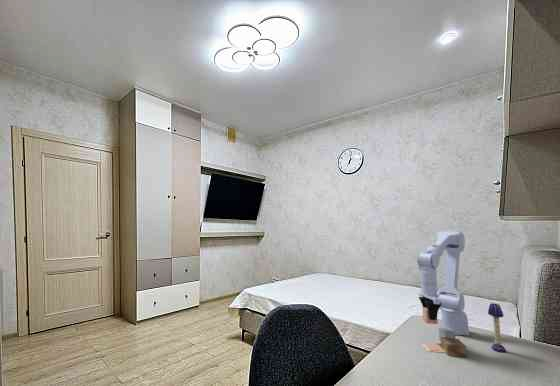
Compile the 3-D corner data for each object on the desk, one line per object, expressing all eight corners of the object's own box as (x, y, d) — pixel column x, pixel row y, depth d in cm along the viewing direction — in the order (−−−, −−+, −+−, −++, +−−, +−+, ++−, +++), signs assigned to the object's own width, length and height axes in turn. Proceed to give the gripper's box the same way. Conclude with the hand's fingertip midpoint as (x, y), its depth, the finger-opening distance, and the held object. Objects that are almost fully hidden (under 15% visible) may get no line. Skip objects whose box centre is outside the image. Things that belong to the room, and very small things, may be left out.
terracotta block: (433, 320, 109) (432, 307, 109) (437, 324, 105) (437, 310, 105) (423, 319, 109) (422, 307, 110) (426, 323, 105) (426, 310, 106)
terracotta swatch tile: (438, 345, 103) (438, 344, 103) (445, 352, 98) (445, 351, 98) (422, 344, 104) (422, 343, 104) (428, 351, 98) (428, 350, 98)
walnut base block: (458, 350, 100) (458, 338, 101) (466, 357, 95) (465, 345, 95) (441, 348, 102) (440, 337, 102) (447, 355, 96) (447, 344, 96)
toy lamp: (507, 354, 97) (504, 306, 99) (491, 351, 99) (488, 304, 101) (504, 348, 101) (501, 303, 103) (489, 346, 104) (486, 301, 106)
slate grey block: (448, 339, 109) (447, 327, 109) (455, 344, 105) (455, 330, 105) (439, 340, 108) (438, 327, 109) (446, 344, 104) (445, 331, 105)
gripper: (412, 278, 116) (413, 311, 115) (425, 286, 102) (426, 323, 101) (429, 279, 115) (431, 312, 114) (445, 287, 101) (447, 324, 99)
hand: (430, 317), depth 107 cm, fingers closed on terracotta block, 4 cm apart
